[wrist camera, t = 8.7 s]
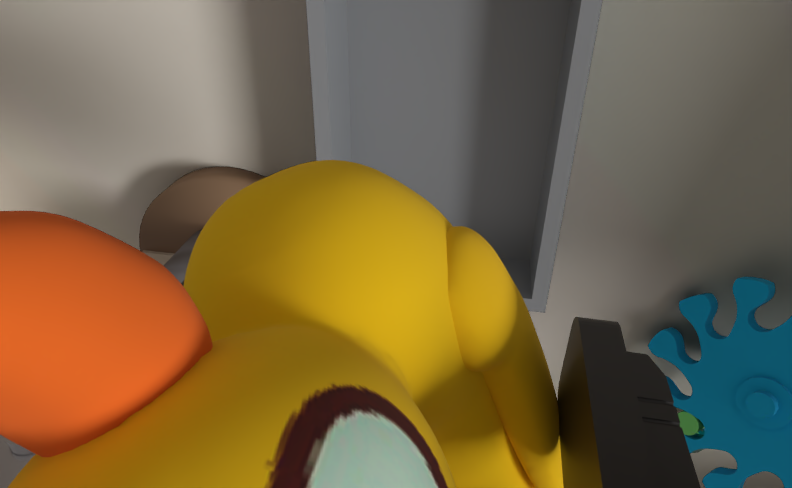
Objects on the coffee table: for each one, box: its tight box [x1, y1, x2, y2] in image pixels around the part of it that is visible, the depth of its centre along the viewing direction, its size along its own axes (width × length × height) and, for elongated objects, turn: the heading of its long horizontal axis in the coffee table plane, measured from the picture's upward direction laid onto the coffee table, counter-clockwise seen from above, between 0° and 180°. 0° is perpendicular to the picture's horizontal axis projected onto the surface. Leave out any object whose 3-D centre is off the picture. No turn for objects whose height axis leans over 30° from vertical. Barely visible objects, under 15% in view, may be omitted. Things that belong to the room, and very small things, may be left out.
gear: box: [648, 277, 792, 488], centre depth 25 cm, size 11×6×10 cm
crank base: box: [139, 167, 266, 283], centre depth 26 cm, size 9×9×6 cm
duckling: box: [0, 160, 564, 488], centre depth 9 cm, size 11×5×10 cm, turn 30°
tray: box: [306, 0, 602, 313], centre depth 22 cm, size 14×9×4 cm, turn 0°
